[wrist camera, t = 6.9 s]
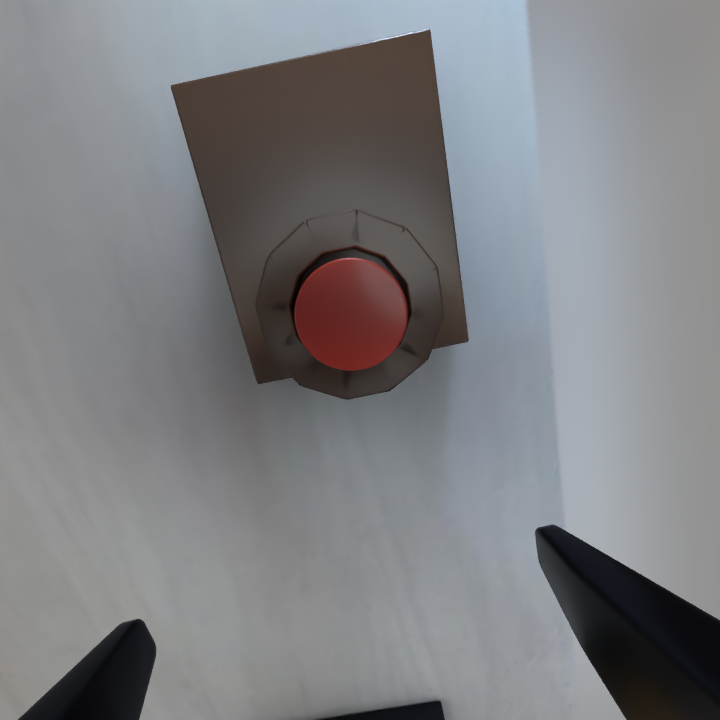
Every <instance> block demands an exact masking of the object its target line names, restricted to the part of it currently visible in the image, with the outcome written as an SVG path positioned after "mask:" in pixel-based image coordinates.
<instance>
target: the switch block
mask: <svg viewBox="0 0 720 720" xmlns="http://www.w3.org/2000/svg"><path fill="white" fill-rule="evenodd" d="M171 90H172V93H173V96H174V100H175V103H176V107H177V110H178V114H179V117H180V120H181V124H182V127H183V131H184V134H185V138H186V141H187V145H188V148H189V151H190V155H191V158H192V162H193V165H194V169H195V172H196V175H197V179H198V182H199V186H200V189H201V193H202V196H203V199H204V203H205V206H206V210H207V213H208V217H209V220H210V224H211V227H212V230H213V234H214V237H215V241H216V244H217V248H218V251H219V254H220V258H221V261H222V265H223V268H224V272H225V275H226V278H227V282H228V285H229V289H230V292H231V296H232V299H233V303H234V306H235V309H236V313H237V316H238V320H239V323H240V327H241V330H242V333H243V337H244V340H245V344H246V347H247V351H248V354H249V357H250V361H251V364H252V368H253V371H254V375H255V378H256V382H257V384H262V383H267V382H272V381H277V380H282V379H287V378H293V379H294V380H295V381H296V382H297V383H298V384H299V385H302V386H303V387H306V388H309V389H312V390H316V391H319V392H322V393H325V394H329V395H332V396H335V397H339V398H342V399H347V400H348V399H352V398H357V397H362V396H367V395H372V394H377V393H382V392H387V391H391V389H393V388H395V387H396V386H397V385H398V384H399V383H401V382H402V381H403V380H404V379H405V378H407V377H408V376H409V375H410V374H411V373H413V372H414V371H415V370H416V369H418V368H419V367H420V366H421V365H422V364H424V363H425V361H426V360H428V358H429V355H430V353H431V350H432V349H435V348H440V347H445V346H450V345H455V344H460V343H465V342H468V340H469V339H468V331H467V323H466V315H465V307H464V298H463V290H462V282H461V274H460V266H459V258H458V250H457V242H456V234H455V226H454V218H453V209H452V201H451V193H450V185H449V177H448V169H447V161H446V153H445V145H444V137H443V129H442V120H441V112H440V104H439V96H438V88H437V80H436V72H435V64H434V56H433V48H432V40H431V32H430V29H426V30H421V31H417V32H412V33H408V34H403V35H398V36H394V37H389V38H385V39H380V40H376V41H371V42H366V43H362V44H357V45H353V46H348V47H344V48H339V49H334V50H330V51H325V52H321V53H316V54H312V55H307V56H303V57H298V58H293V59H289V60H284V61H280V62H275V63H271V64H266V65H261V66H257V67H252V68H248V69H243V70H239V71H234V72H229V73H225V74H220V75H216V76H211V77H207V78H202V79H197V80H193V81H188V82H184V83H179V84H175V85H172V86H171ZM341 258H360V259H365V260H368V261H371V262H374V263H376V264H378V265H379V266H381V267H383V268H384V269H386V270H387V271H388V272H389V273H390V274H391V275H392V276H393V277H394V278H395V279H396V281H397V282H398V283H399V285H400V287H401V289H402V290H403V293H404V296H405V298H406V303H407V310H408V320H407V326H406V330H405V333H404V336H403V338H402V340H401V342H400V344H399V345H398V347H397V348H396V349H395V350H394V352H393V353H392V354H391V355H390V356H389V357H388V358H386V359H385V360H384V361H382V362H380V363H379V364H377V365H375V366H372V367H370V368H367V369H363V370H356V371H347V370H340V369H336V368H332V367H330V366H327V365H325V364H324V363H322V362H320V361H319V360H317V359H316V358H315V357H314V356H312V355H311V354H310V353H309V351H308V350H307V349H306V348H305V346H304V345H303V343H302V342H301V340H300V338H299V335H298V333H297V330H296V325H295V317H294V311H295V303H296V299H297V296H298V293H299V291H300V289H301V287H302V285H303V283H304V282H305V281H306V279H307V278H308V277H309V276H310V275H311V274H312V273H313V272H314V271H315V270H317V269H318V268H319V267H321V266H323V265H324V264H326V263H329V262H331V261H334V260H337V259H341Z"/></svg>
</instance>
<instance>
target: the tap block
mask: <svg viewBox="0 0 720 720" xmlns="http://www.w3.org/2000/svg"><path fill="white" fill-rule="evenodd" d="M325 720H445V719H444V714H443V710H442V705H441V702H440V701H439V702H433V703H426V704H420V705H414V706H407V707H401V708H395V709H388V710H382V711H376V712H369V713H363V714H357V715H350V716H344V717H338V718H331V719H325Z"/></svg>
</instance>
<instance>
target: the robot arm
mask: <svg viewBox="0 0 720 720" xmlns="http://www.w3.org/2000/svg"><path fill="white" fill-rule="evenodd" d="M535 537H536V545H537V553H538V559H539V563H540V566H541V568H542V570H543V572H544V574H545V576H546V578H547V580H548V582H549V584H550V586H551V588H552V590H553V592H554V594H555V596H556V598H557V600H558V602H559V604H560V606H561V608H562V610H563V612H564V614H565V616H566V618H567V620H568V622H569V624H570V626H571V628H572V630H573V632H574V634H575V635H576V638H577V639H578V641H579V643H580V645H581V647H582V648H583V650H584V652H585V653H586V655H587V657H588V659H589V660H590V662H591V663H592V665H593V667H594V668H595V670H596V671H597V673H598V675H599V676H600V678H601V679H602V681H603V683H604V684H605V686H606V687H607V689H608V691H609V692H610V694H611V696H612V697H613V699H614V700H615V702H616V704H617V705H618V707H619V708H620V710H621V712H622V713H623V715H624V716H625V718H626V719H627V720H720V620H718V619H717V618H715V617H713V616H711V615H710V614H708V613H706V612H704V611H703V610H701V609H699V608H697V607H696V606H694V605H692V604H691V603H689V602H687V601H685V600H684V599H682V598H680V597H678V596H677V595H675V594H673V593H671V592H670V591H668V590H667V589H665V588H663V587H661V586H660V585H658V584H656V583H655V582H653V581H651V580H649V579H648V578H646V577H644V576H642V575H641V574H639V573H637V572H636V571H634V570H632V569H630V568H629V567H627V566H625V565H623V564H622V563H620V562H618V561H616V560H615V559H613V558H611V557H610V556H608V555H606V554H604V553H603V552H601V551H599V550H598V549H596V548H594V547H592V546H591V545H589V544H587V543H586V542H584V541H582V540H580V539H579V538H577V537H575V536H573V535H572V534H570V533H568V532H567V531H565V530H563V529H561V528H560V527H558V526H556V525H548V526H543V527H539V528H537V529H536V531H535ZM155 657H156V645H155V642H154V640H153V638H152V636H151V634H150V632H149V630H148V629H147V627H146V625H145V623H144V621H142V620H141V619H136V620H131V621H127V622H123V623H121V624H120V625H118V626H117V627H116V628H115V629H114V630H113V631H112V632H111V633H110V634H109V635H108V636H107V637H106V638H104V639H103V640H102V641H101V642H100V643H99V644H98V645H97V646H96V647H95V648H94V649H93V650H92V651H91V652H90V653H89V654H87V655H86V656H85V657H84V658H83V659H82V660H81V661H80V662H79V663H78V664H77V665H76V666H75V667H74V668H73V669H71V670H70V671H69V672H68V673H67V674H66V675H65V676H64V677H63V678H62V679H61V680H60V681H59V682H58V683H57V684H56V685H54V686H53V687H52V688H51V689H50V690H49V691H48V692H47V693H46V694H45V695H44V696H43V697H42V698H41V699H40V700H38V701H37V702H36V703H35V704H34V705H33V706H32V707H31V708H30V709H29V710H28V711H27V712H26V713H25V714H24V715H22V716H21V717H20V718H19V719H18V720H139V718H140V714H141V711H142V707H143V703H144V699H145V695H146V692H147V688H148V684H149V680H150V677H151V673H152V669H153V665H154V662H155Z"/></svg>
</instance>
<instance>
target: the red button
mask: <svg viewBox="0 0 720 720" xmlns="http://www.w3.org/2000/svg"><path fill="white" fill-rule="evenodd" d="M294 317H295V325H296V330H297V333H298V335H299V338H300V340H301V342H302V343H303V345H304V346H305V348H306V349H307V350H308V351H309V353H310V354H311V355H312V356H314V357H315V358H316V359H317V360H319V361H320V362H322V363H324V364H325V365H327V366H330V367H332V368H336V369H340V370H347V371H356V370H363V369H367V368H370V367H372V366H375V365H377V364H379V363H380V362H382V361H384V360H385V359H386V358H388V357H389V356H390V355H391V354H392V353H393V352H394V350H395V349H396V348H397V347H398V345H399V344H400V342H401V340H402V338H403V336H404V333H405V330H406V326H407V320H408V310H407V303H406V298H405V296H404V293H403V290H402V289H401V287H400V285H399V283H398V282H397V281H396V279H395V278H394V277H393V276H392V275H391V274H390V273H389V272H388V271H387V270H386V269H384V268H383V267H381V266H379V265H378V264H376V263H374V262H371V261H368V260H365V259H360V258H341V259H337V260H334V261H331V262H329V263H326V264H324V265H323V266H321V267H319V268H318V269H317V270H315V271H314V272H313V273H312V274H311V275H310V276H309V277H308V278H307V279H306V281H305V282H304V283H303V285H302V287H301V289H300V291H299V293H298V296H297V299H296V303H295V311H294Z"/></svg>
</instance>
